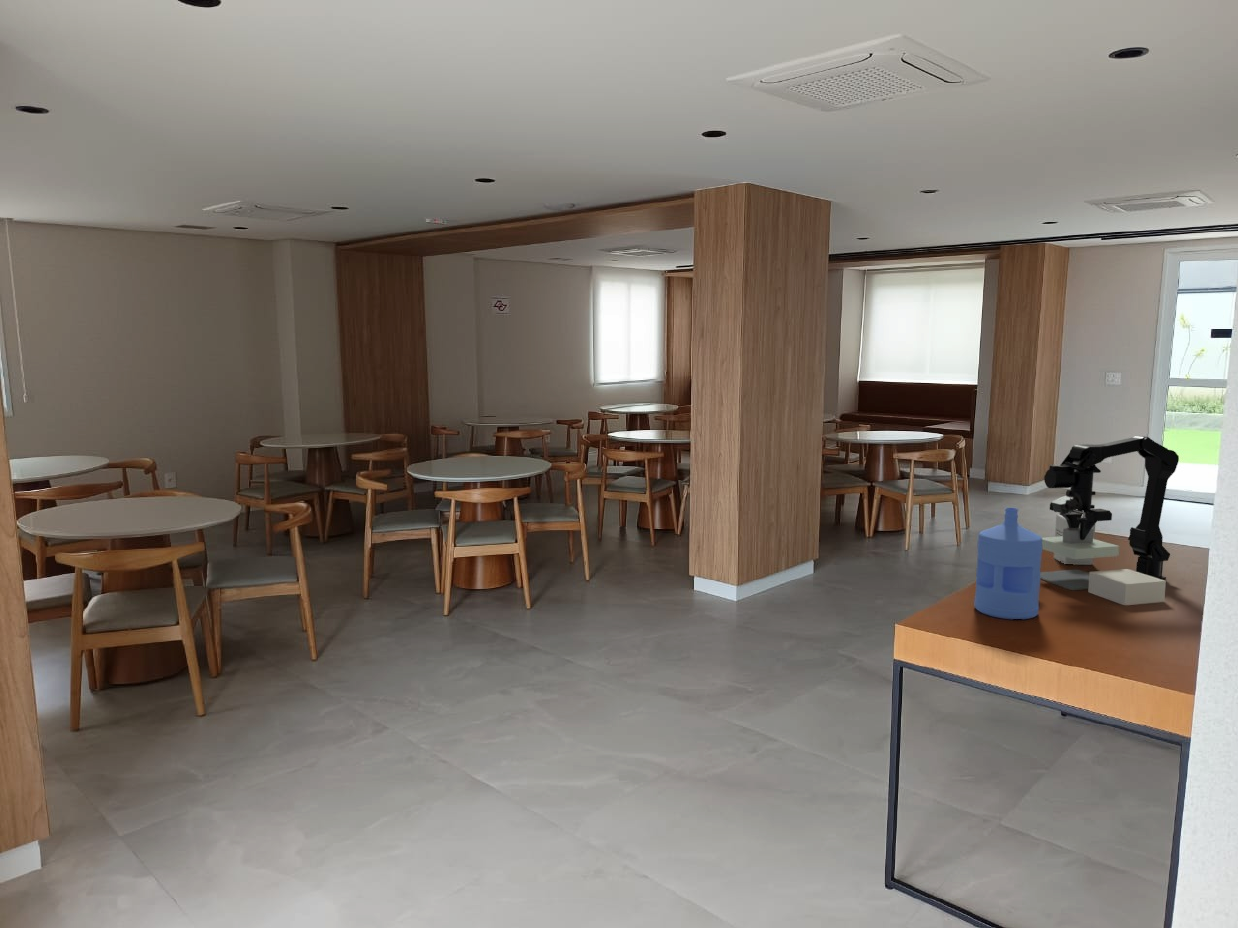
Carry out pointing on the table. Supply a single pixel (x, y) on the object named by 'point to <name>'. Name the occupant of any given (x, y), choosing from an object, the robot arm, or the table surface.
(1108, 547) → the lid
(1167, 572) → the table surface
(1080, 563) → the supplement box
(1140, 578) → the storage box
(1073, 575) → the mat
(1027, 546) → the water jug
